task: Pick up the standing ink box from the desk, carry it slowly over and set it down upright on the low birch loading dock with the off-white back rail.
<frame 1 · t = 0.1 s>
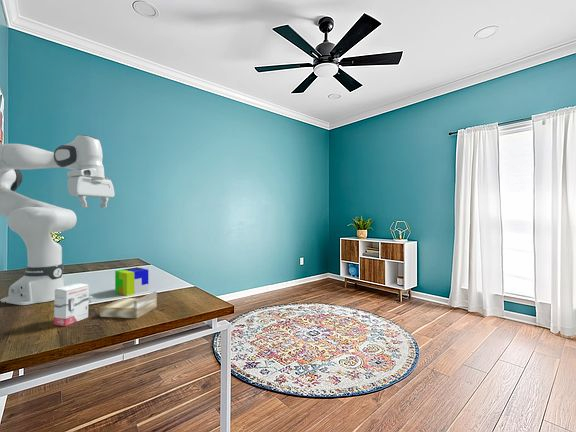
hand: (94, 207, 117), 39 cm above the table, tool pointing down, fingers open, 8 cm apart
ink box: (72, 321, 95), on the table
grey tiered figurine: (82, 307, 109), on the table
dock: (129, 311, 104), on the table
puzzle toy: (132, 291, 131), on the table
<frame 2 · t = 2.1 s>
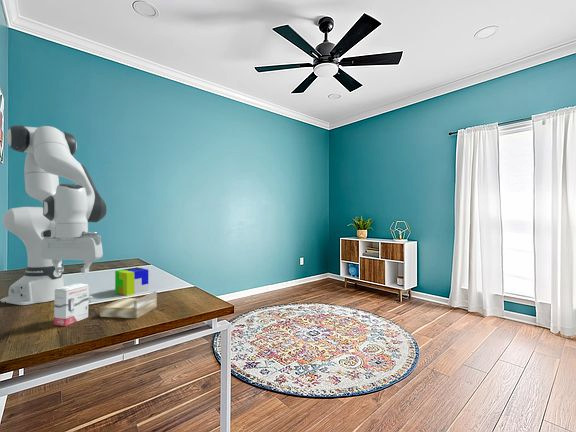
hand: (72, 272, 95), 16 cm above the table, tool pointing down, fingers open, 8 cm apart
nothing on the table moved.
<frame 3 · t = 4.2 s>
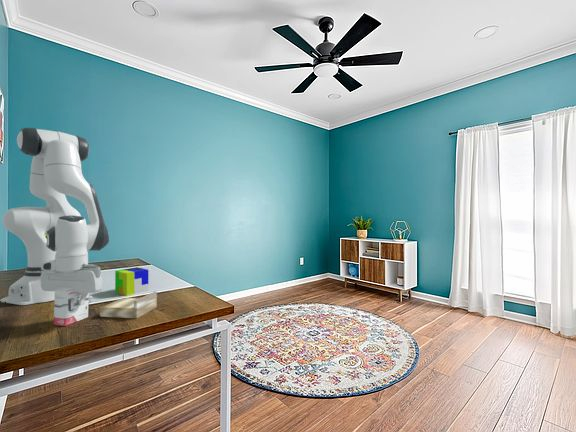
hand: (72, 304, 95), 6 cm above the table, tool pointing down, fingers closed on ink box, 5 cm apart
ink box: (72, 321, 95), on the table, touching gripper
everything else where it was.
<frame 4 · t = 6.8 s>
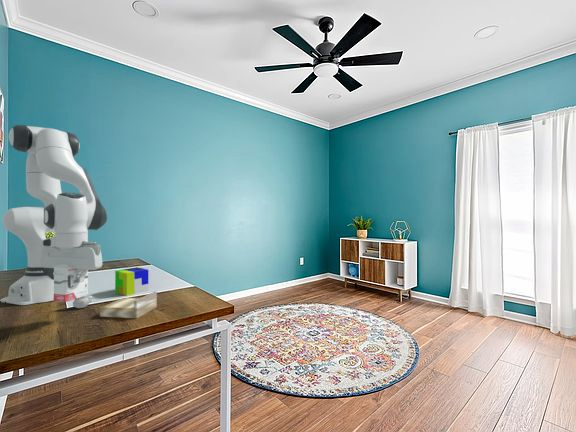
hand: (71, 281, 95), 13 cm above the table, tool pointing down, fingers closed on ink box, 5 cm apart
ink box: (71, 298, 95), point 7 cm above the table, touching gripper
everything else where it was.
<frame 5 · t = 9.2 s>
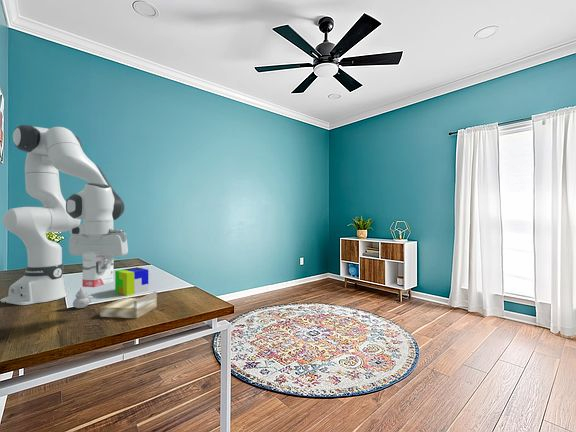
hand: (98, 268, 99), 17 cm above the table, tool pointing down, fingers closed on ink box, 5 cm apart
ink box: (99, 284, 99), point 11 cm above the table, touching gripper
everything else where it was.
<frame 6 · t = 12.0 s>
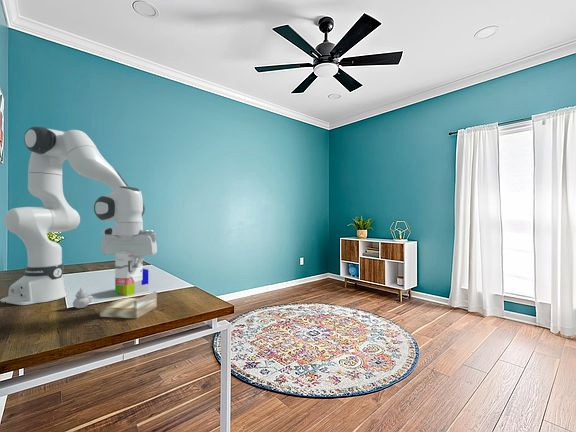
hand: (129, 267, 104), 17 cm above the table, tool pointing down, fingers closed on ink box, 5 cm apart
ink box: (129, 283, 104), point 11 cm above the table, touching gripper
everything else where it was.
when the fingers open (9 cm above the table, at t = 14.3 s): ink box stays where it is, resting on dock.
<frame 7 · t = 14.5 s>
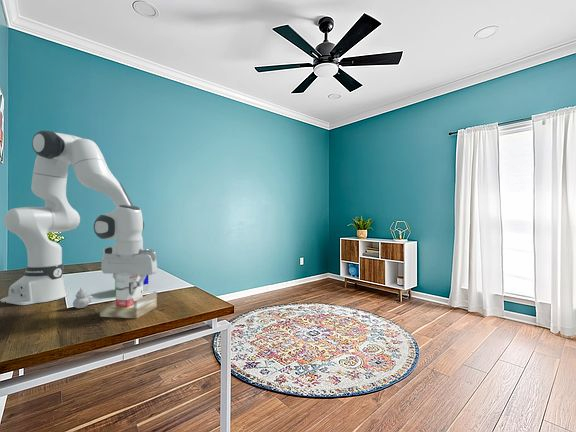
hand: (129, 285, 104), 10 cm above the table, tool pointing down, fingers open, 7 cm apart
ink box: (130, 303, 104), point 3 cm above the table, touching dock
everything else where it was.
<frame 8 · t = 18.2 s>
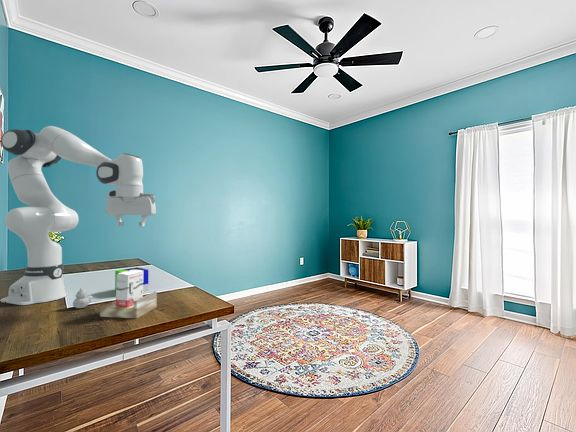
hand: (131, 226, 117), 31 cm above the table, tool pointing down, fingers open, 8 cm apart
nothing on the table moved.
at the end: ink box inside the target area on the dock (0.5 cm from its centre), point 2.8 cm above the dock's base; ink box tilted 0°; the gripper is holding nothing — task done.
